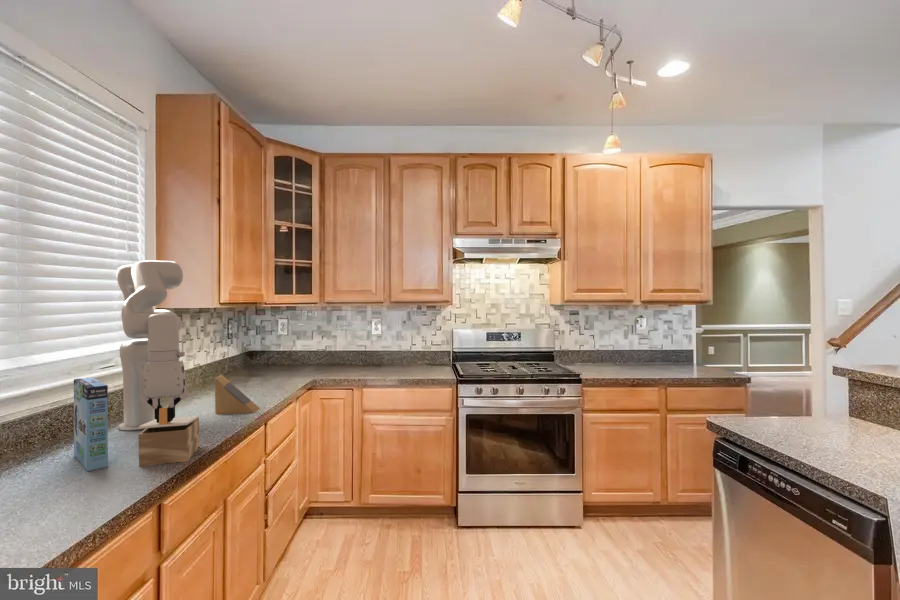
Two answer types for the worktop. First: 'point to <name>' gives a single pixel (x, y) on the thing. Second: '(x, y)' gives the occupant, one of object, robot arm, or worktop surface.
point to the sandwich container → (231, 398)
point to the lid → (165, 423)
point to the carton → (168, 444)
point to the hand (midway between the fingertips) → (165, 420)
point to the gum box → (91, 423)
